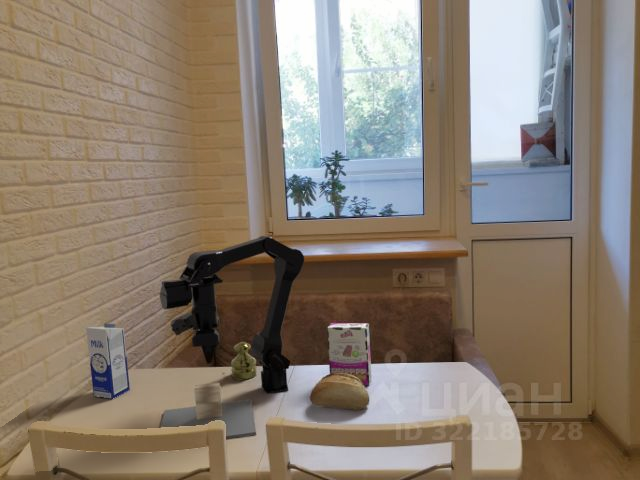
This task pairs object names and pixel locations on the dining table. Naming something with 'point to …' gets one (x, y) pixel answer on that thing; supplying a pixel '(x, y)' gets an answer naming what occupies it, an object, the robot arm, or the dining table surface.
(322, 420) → the dining table surface
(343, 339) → the candy bar box
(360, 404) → the bread roll
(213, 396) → the tile
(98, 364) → the milk carton
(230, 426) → the mat
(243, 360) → the olive tall rounded piece
